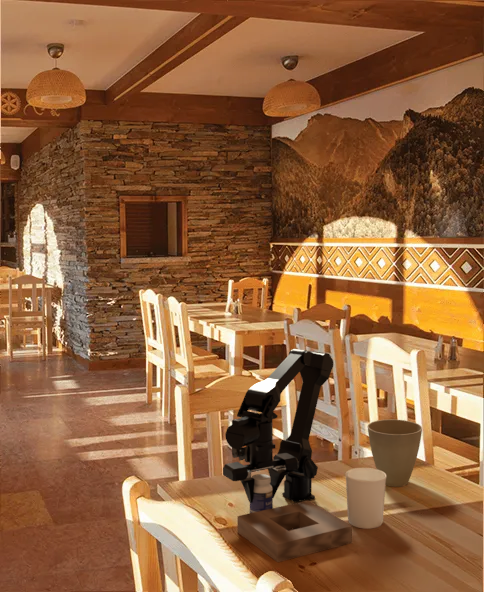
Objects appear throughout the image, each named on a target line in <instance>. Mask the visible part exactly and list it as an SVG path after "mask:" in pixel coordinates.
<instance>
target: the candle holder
mask: <svg viewBox="0 0 484 592" xmlns="http://www.w3.org/2000/svg"><path fill="white" fill-rule="evenodd" d="M386 477H387V476H386V474H385V473H384V472H383V471H380V470H377V469H376V468H372V467H354V468H351V469H348V470H346V471H345V484H346V485H345V486H346V487H345V488H346V489H345V490H346V504H347V505H346V506H347V509H346V510H347V521H348V524H350V525H352V527H355V528H360V529H368V530H369V529H376V528H379V527H381V526H382V525H383V521H384V511H385V497H386V486H387V485H386Z"/></svg>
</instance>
